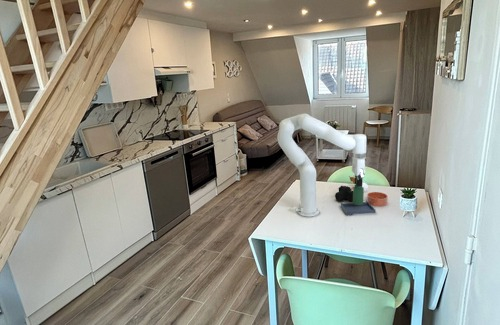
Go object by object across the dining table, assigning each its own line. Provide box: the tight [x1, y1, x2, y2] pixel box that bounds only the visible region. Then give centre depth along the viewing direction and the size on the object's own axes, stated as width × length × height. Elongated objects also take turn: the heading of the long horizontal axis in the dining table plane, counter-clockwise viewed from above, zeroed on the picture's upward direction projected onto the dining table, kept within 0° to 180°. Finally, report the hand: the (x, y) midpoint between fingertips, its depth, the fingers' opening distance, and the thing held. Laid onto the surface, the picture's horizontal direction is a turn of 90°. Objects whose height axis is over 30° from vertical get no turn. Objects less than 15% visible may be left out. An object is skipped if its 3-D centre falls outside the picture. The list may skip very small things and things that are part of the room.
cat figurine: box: [348, 174, 369, 193], centre depth 222 cm, size 13×12×18 cm
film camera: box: [334, 185, 353, 203], centre depth 205 cm, size 15×10×9 cm, turn 16°
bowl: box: [366, 191, 389, 207], centre depth 197 cm, size 12×12×6 cm
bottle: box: [352, 176, 365, 205], centre depth 187 cm, size 6×6×18 cm
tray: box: [340, 201, 376, 216], centre depth 190 cm, size 17×12×2 cm
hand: (358, 184), depth 186 cm, fingers closed on bottle, 2 cm apart
